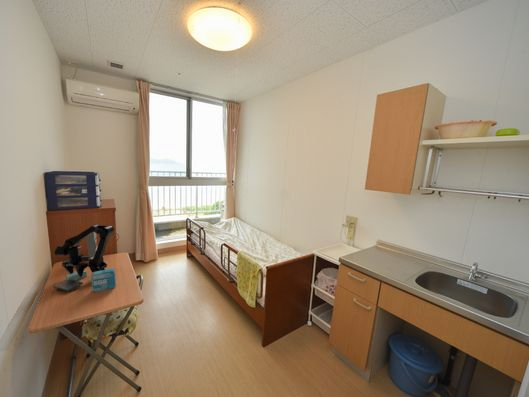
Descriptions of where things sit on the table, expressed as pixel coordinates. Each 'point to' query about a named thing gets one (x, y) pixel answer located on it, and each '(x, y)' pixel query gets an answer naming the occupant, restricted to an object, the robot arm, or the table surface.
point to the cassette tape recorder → (91, 244)
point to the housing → (75, 276)
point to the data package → (103, 280)
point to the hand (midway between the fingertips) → (76, 275)
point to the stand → (68, 285)
